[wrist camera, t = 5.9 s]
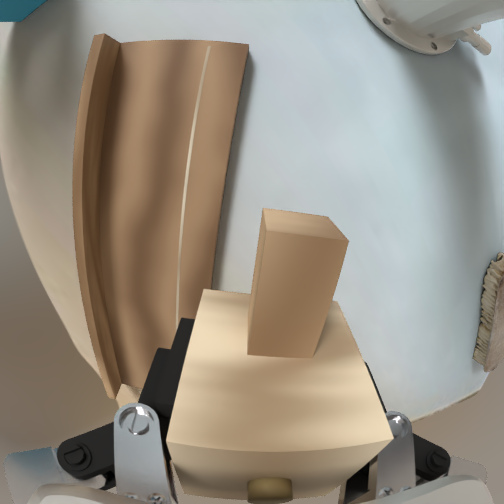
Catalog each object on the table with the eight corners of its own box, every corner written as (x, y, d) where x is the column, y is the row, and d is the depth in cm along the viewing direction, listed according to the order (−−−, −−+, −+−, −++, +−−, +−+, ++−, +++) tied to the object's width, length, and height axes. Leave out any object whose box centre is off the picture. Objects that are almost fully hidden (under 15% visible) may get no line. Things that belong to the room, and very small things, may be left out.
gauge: (361, 212, 9) (499, 342, 3) (290, 419, 13) (301, 521, 7) (210, 191, 8) (117, 336, 2) (202, 414, 13) (189, 518, 7)
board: (248, 50, 18) (248, 30, 14) (201, 392, 33) (197, 418, 29) (117, 48, 17) (94, 35, 13) (118, 373, 32) (108, 397, 28)
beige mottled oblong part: (496, 344, 33) (509, 360, 29) (470, 365, 35) (482, 382, 30) (508, 240, 25) (530, 254, 20) (478, 264, 26) (501, 282, 22)
